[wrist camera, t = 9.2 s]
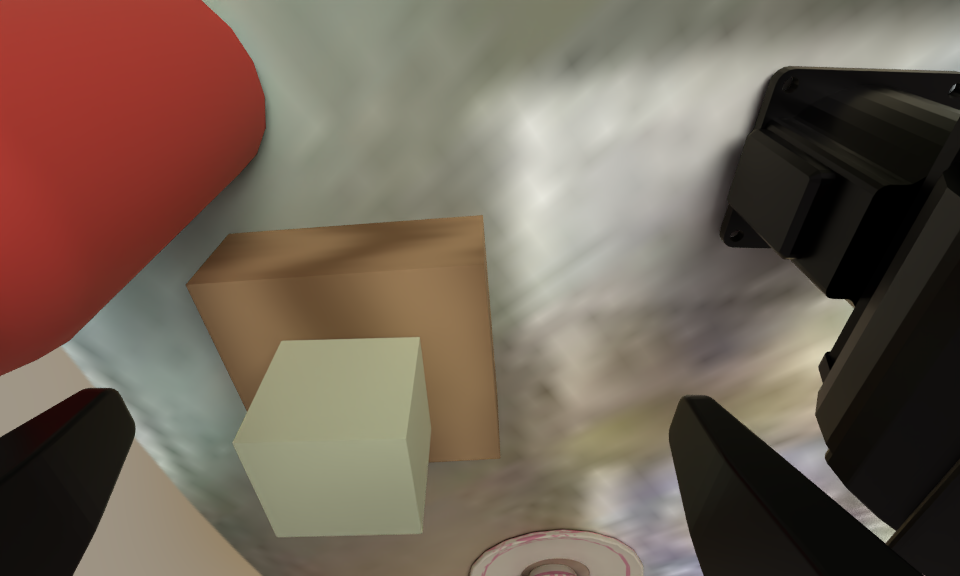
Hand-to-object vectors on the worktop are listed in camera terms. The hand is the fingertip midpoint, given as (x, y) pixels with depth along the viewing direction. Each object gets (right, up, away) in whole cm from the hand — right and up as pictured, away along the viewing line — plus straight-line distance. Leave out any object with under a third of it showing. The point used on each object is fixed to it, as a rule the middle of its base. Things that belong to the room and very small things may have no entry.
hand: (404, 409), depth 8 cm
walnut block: (-3, +1, +15) cm, 15 cm away
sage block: (-3, -2, +11) cm, 12 cm away
